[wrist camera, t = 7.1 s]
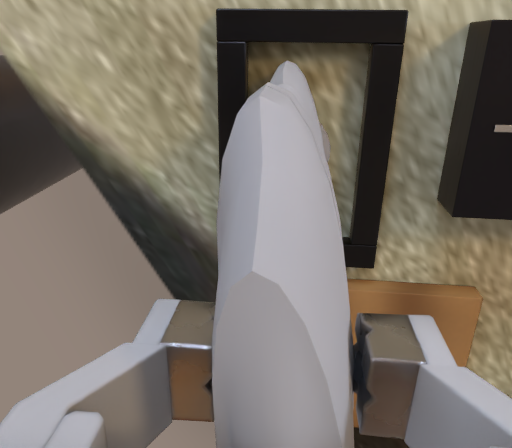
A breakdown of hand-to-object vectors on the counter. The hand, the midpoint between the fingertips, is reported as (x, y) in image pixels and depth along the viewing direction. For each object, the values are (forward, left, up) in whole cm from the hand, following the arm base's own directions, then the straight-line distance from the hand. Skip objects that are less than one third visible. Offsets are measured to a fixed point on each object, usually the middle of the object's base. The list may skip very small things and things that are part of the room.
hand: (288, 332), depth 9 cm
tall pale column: (0, 0, -18) cm, 18 cm away
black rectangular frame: (0, 0, -19) cm, 19 cm away
